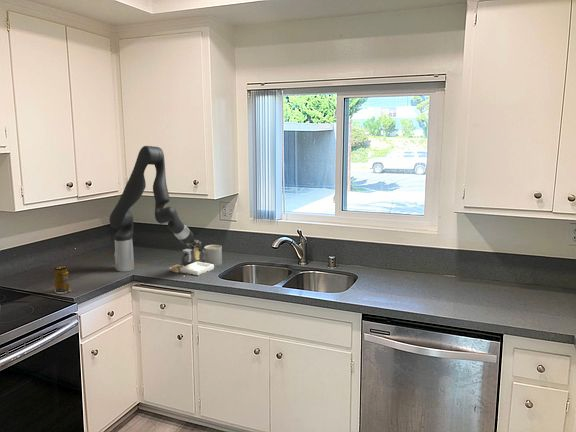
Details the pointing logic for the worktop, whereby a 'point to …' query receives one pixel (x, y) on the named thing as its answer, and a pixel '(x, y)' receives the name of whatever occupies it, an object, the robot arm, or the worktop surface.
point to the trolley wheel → (187, 257)
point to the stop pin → (196, 253)
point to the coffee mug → (212, 254)
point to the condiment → (61, 279)
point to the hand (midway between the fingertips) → (199, 250)
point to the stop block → (175, 268)
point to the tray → (197, 268)
